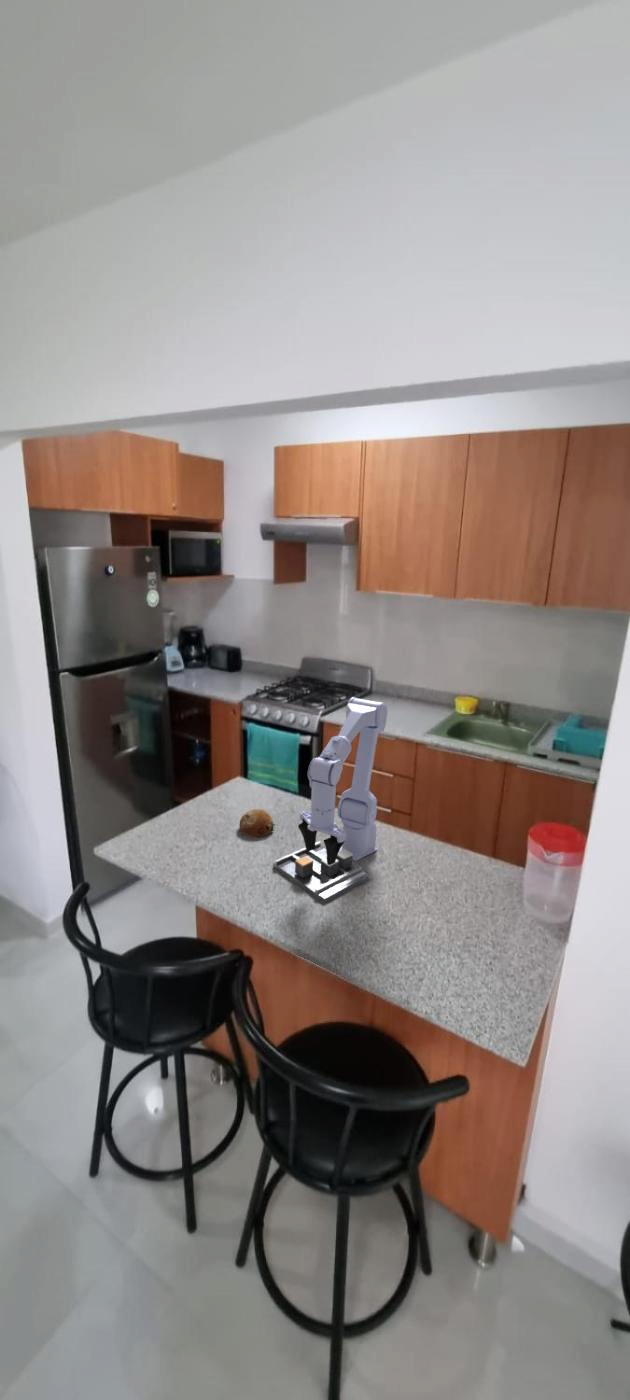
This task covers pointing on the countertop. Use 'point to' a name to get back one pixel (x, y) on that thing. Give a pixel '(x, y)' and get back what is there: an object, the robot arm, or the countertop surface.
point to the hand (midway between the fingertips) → (320, 856)
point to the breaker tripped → (304, 866)
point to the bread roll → (256, 823)
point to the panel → (320, 874)
